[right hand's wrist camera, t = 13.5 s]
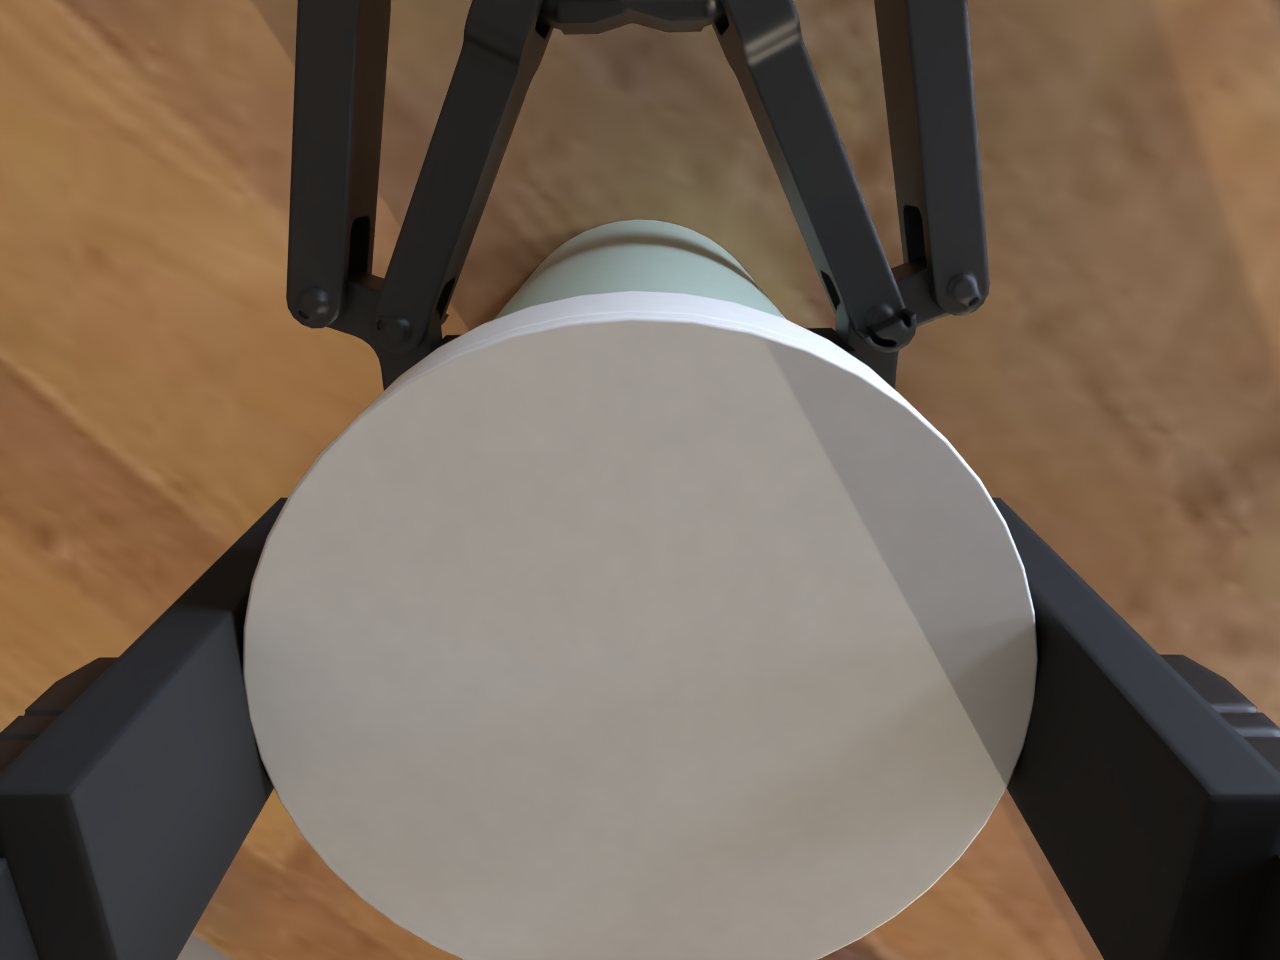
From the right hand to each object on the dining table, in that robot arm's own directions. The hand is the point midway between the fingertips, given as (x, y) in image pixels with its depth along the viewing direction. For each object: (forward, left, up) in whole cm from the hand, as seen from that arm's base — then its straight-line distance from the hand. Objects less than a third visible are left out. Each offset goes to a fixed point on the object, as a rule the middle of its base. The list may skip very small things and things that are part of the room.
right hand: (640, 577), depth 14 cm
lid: (0, 0, +3) cm, 3 cm away
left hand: (+2, +4, -9) cm, 10 cm away
